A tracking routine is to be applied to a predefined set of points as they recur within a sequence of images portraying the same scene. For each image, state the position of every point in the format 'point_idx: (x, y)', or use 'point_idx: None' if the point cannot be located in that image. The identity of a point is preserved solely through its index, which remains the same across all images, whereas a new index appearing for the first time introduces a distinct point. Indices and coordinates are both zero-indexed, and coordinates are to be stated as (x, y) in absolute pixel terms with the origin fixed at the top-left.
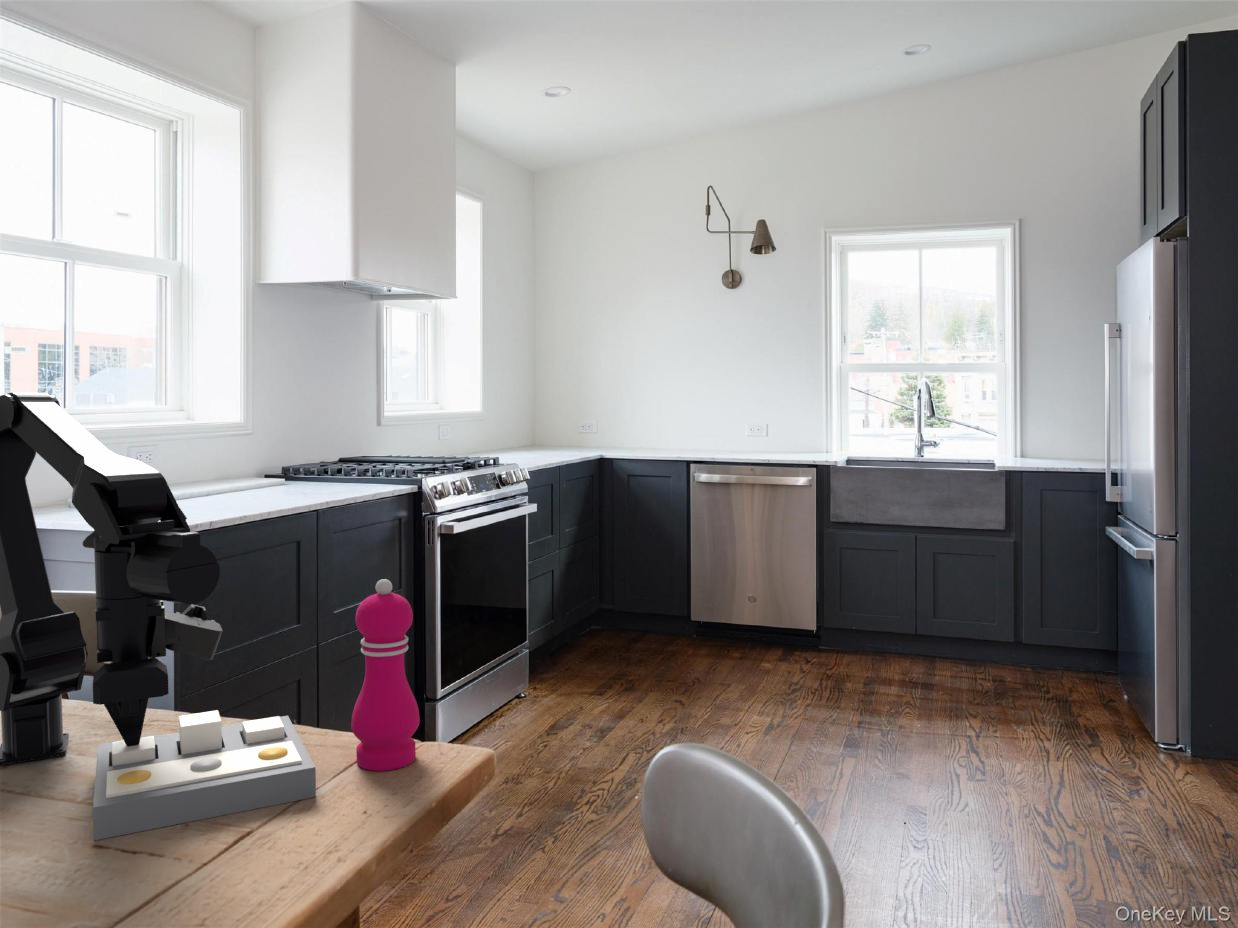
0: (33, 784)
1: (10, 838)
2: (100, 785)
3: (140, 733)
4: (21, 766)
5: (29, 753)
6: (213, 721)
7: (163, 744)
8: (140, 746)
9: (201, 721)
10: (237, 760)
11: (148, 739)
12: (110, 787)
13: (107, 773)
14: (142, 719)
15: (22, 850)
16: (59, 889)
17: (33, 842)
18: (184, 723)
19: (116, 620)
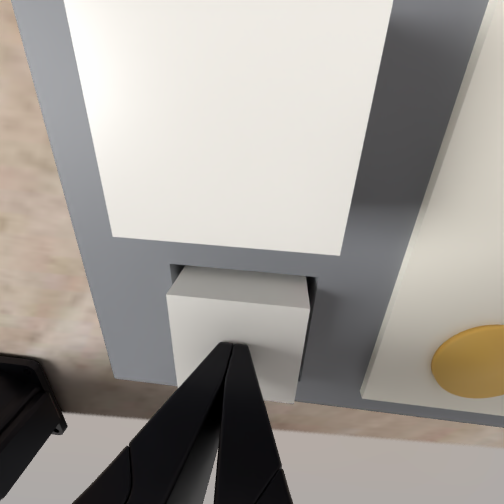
0: (164, 401)
1: (382, 438)
2: (430, 408)
3: (257, 378)
4: (74, 404)
5: (51, 414)
6: (378, 5)
7: (180, 247)
8: (268, 341)
9: (308, 114)
10: None
11: (205, 313)
12: (501, 408)
13: (379, 399)
14: (275, 447)
15: (447, 434)
16: None
17: (427, 422)
18: (283, 228)
19: None
